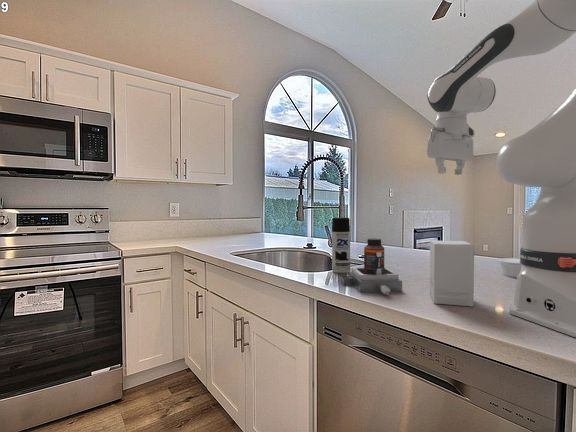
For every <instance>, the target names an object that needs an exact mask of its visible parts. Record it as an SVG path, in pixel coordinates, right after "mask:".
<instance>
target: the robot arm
mask: <svg viewBox="0 0 576 432" xmlns="http://www.w3.org/2000/svg"><path fill="white" fill-rule="evenodd" d="M575 34H576V0H534V1H533V2H532V3H530V5H528V6H527V7H526V8H525V9H523V10H522V11H521V12H519V14H517V15H516V16H514V17H513V18H512V19H510V20H508V21H507V22H505V23H504V24H502V25H500V26H498V27H497V28H495V29H494V30H492V31H491V32H490V33H487V35H486V36H485V37H484V38H483V39H481V40H480V41H479V42H478V43H477V44H475V46H473V48H471V50H469V51H468V52H467V53H466V54H465V55H464V56H463V57H462V58H461V59H459V60H458V61H457V62H456V63H455V64H454V65H453V66H452V67H450V68H449V69H448V70H446V71H445V72H443V73H440V74H439V75H438V76H437V77H436V78H435V79H434V80H433V81H432V82H431V84H430V85H429V87H428V90H427V96H426V97H427V101H428V103H429V105H430V107H431V108H432V109H433V111H434V112H436V119H435V126H434V127H432V129H431V130H430V134H429V136H428V138H427V139H428V141H427V148H426V149H427V150H426V155H427V157H428V158H429V159H434V160H435V161H434V162H435V165H436V166H437V173H438V174H446V172H447V167H445V163H444V162H445V160H446V161H450V162H452V161H453V162H455V164H456V168H454V175H455V176H460V175H463V169H464V168H465V164H466V163H467V162H470V161H472V160H473V156H474V139H473V138H474V137H475V135H476V134H475V130H474V129H473V128H472V126H470V125H469V124H468V122H467V121H468V117H467V115H468V114H471V113H480V112H484V111H486V110H487V109H488V108H489V107H490V106H491V105H492V104H493V102H494V101H495V98H496V94H497V93H496V92H497V91H496V84H495V82H494V81H493V80H492V79H490V78H487V77H481V76H479V75H480V74H482V72H483V73H484V71H485V70H486V69H488V68H489V67H491V66H492V65H495V64H497V63H499V62H502V61H506V60H511V59H514V58H515V59H516V58H522V57H529V56H536V55H541V54H545V53H547V52H550V51H551V50H554V49H555V48H557V47H559V46H560V45H561V44H563V43H564V42H566V41H567V40H569V39H570V38H571V37H572V36H573V35H575ZM495 166H496V171H497V173H498V175H499V177H500V178H501V179H502V180H503V181H505V182H506V183H510V184H513V185H517V186H522V187H525V188H526V187H527V188H540V192H539V195H538V197H537V199H536V201H535V203H534V204H533V205H532V206H531V207H530V208H528V209H527V210H526V211H525V213H524V214H523V217H522V247H521V248H520V252H519V258H520V263H521V264H522V268H521V271H520V273H519V275H518V276H517V278H516V282H515V290H514V297H513V305H512V306H511V307H509V311H508V313H509V314H511V315H513V316H516V317H518V318H521V319H525V320H527V321H530V322H531V323H535V324H538V325H540V326H543V327H546V328H548V329H551V330H553V331H557V332H559V333H563V334H565V335H568V336H571V337H573V338H576V87H575V88H574V89H573V90H572V92H571V93H570V94H569V95H568V96H567V97H566V98H565V99H564V101H563V102H562V103H561V104H560V105H558V107H557V108H555V110H553V111H552V112H551V113H550V114H549V115H548V116H546V117H545V118H544V119H543V120H541V121H540V122H539V123H537V124H536V125H535V126H534V127H532V128H531V129H529V130H528V131H526V132H525V133H523V134H521V135H519V136H517V137H514V138H512V139H511V140H508V141H507V142H506V143H504V144H503V145H502V147H501V148H500V149H499V151H498V153H497V156H496V161H495Z"/></svg>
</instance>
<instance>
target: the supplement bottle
mask: <svg viewBox="0 0 576 432" xmlns="http://www.w3.org/2000/svg"><path fill="white" fill-rule="evenodd" d="M366 244H367V245H365V246H364V248H363V263H364V264H363V268H364V274H384V267H385V247H384V246H383V245H382V239H381V238H377V237H376V238H375V237H374V238H373V237H372V238H371V237H370V238H367V243H366Z"/></svg>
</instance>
